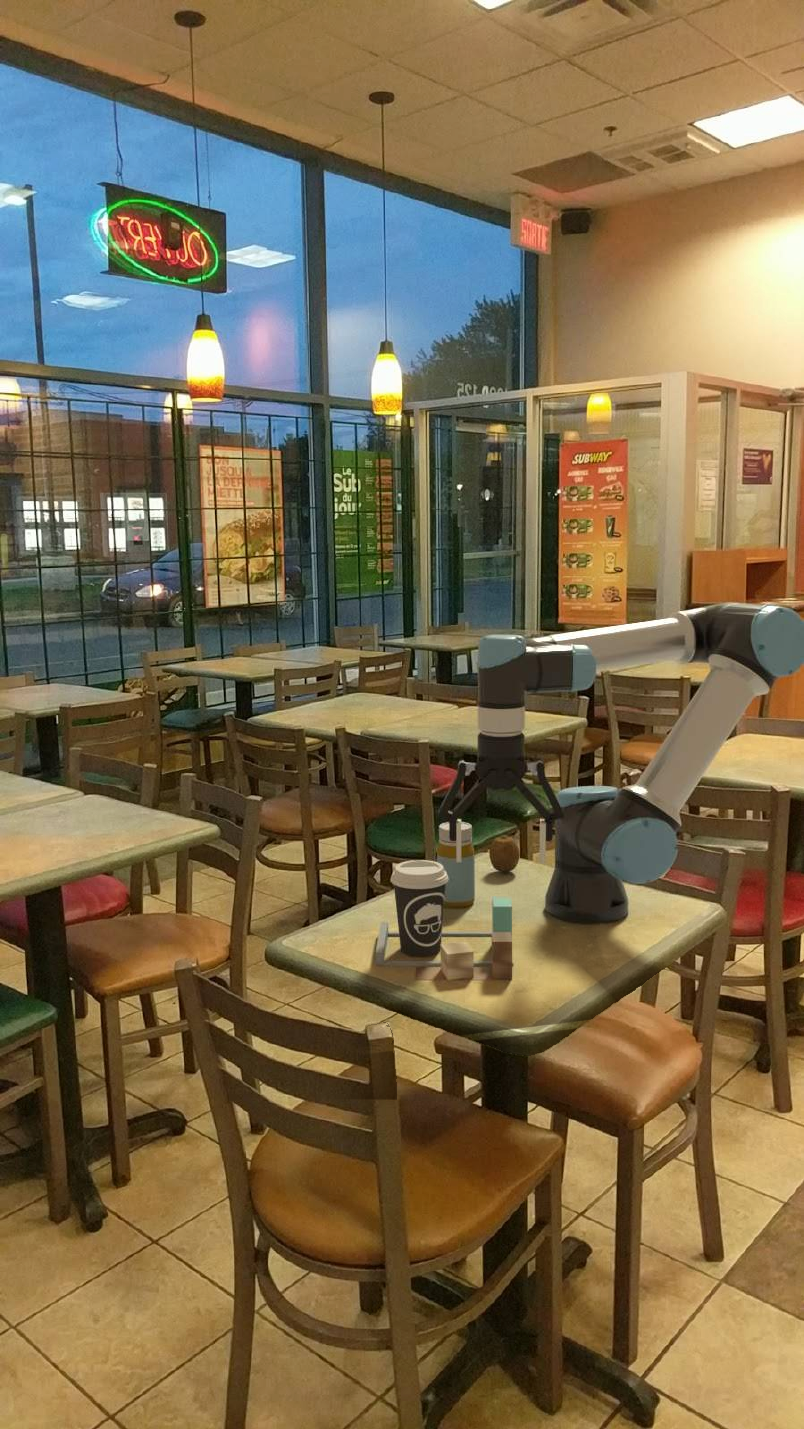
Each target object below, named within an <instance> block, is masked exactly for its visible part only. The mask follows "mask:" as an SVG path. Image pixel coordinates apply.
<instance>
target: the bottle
mask: <svg viewBox="0 0 804 1429" xmlns="http://www.w3.org/2000/svg"><path fill="white" fill-rule="evenodd" d="M438 837H439V839H438V841H439V842H438V846H437V849H436V862H438V863H440V864H442V865H443V867H444V870H445V871H446V873H447V875H448V878H449V880H448V882H447V883H446V885H445V897H444V907H446V908H449V909H450V908H451V909H461V908H463V909H464V908H466V907H470V906H471V905H472V904H473V903H474V901H475V897H476V891H475V890H476V889H475V888H476V887H475V882H476V880H475V879H476V877H475V876H476V875H475V874H476V873H475V872H476V871H475V848H474V845H473V826H472V824H470V823H469V822H464V821H461V862H457V858H456V841H450V838H449V822H448V821H447V822H442V823H441V824H440V825H438Z"/></svg>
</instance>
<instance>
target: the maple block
mask: <svg viewBox="0 0 804 1429" xmlns="http://www.w3.org/2000/svg"><path fill="white" fill-rule="evenodd" d="M440 945H441V950H440V961H441V966H440V967H441V971H442V972H443V974H444V975H445V977H446V978H447V980H446V981H454V980H453V979H462V978H471V977H474V967H475V966H474V961H475V959H474V950H473V948H472V947H471V946H470V945H469V943H468V942H467V941H460V942H449V943H448V942H447V943H441V944H440Z"/></svg>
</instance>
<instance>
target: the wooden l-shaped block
mask: <svg viewBox="0 0 804 1429" xmlns="http://www.w3.org/2000/svg"><path fill="white" fill-rule="evenodd" d="M491 932H492V931H491ZM512 958H513V936H512V937H511V932H492V936H491V961H492V966H474V977H471V978H462V979H453V980H452V981H513V966H512ZM415 967H416V968H415V975H414V976H415V978H414V981H448V980H447V978H446V977H445V975H444V974H443V972H442V971H441V966H415Z"/></svg>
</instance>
